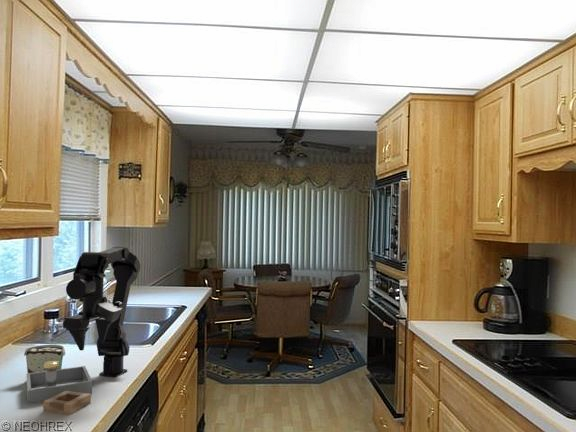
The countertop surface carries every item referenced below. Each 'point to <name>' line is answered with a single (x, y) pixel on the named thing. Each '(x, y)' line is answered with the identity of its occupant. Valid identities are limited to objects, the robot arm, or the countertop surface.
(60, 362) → the food container
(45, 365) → the pin
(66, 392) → the socket block
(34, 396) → the tray
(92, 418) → the countertop surface
